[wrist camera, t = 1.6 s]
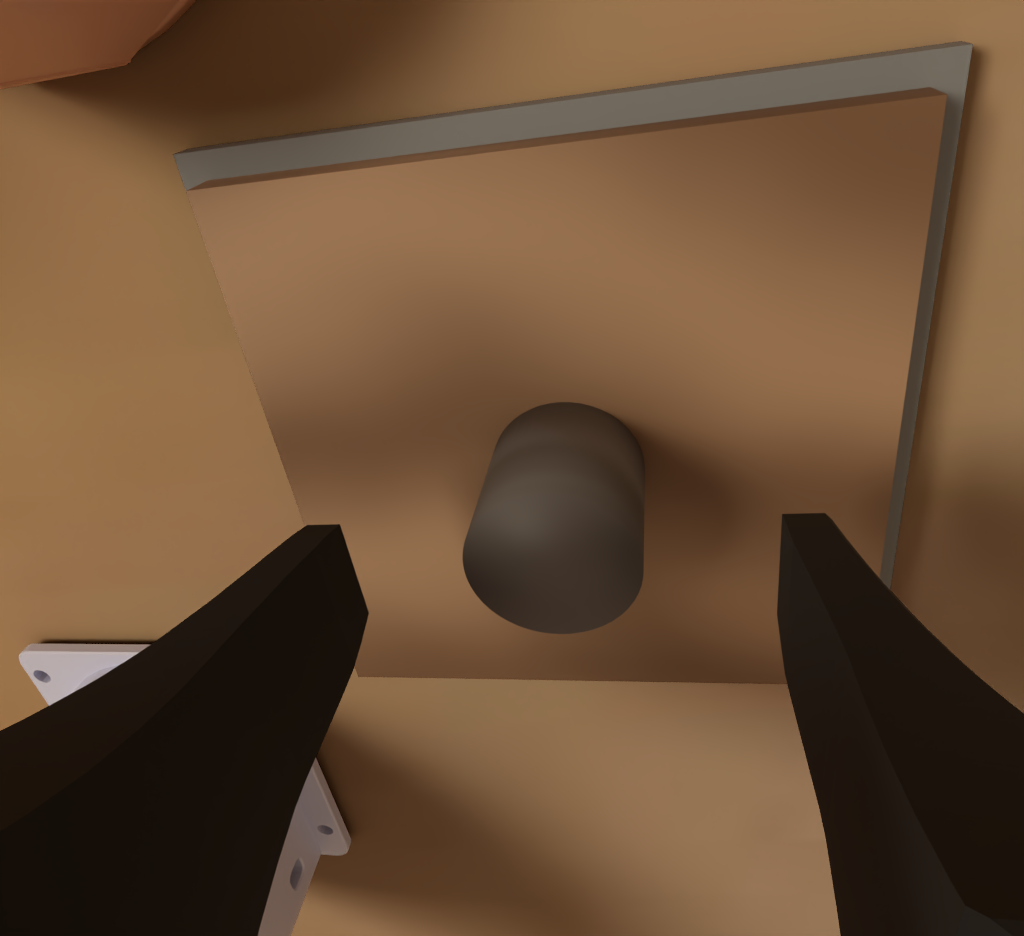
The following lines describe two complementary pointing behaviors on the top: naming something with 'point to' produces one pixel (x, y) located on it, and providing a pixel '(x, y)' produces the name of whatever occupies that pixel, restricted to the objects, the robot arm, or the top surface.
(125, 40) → the terracotta bowl
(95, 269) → the top surface
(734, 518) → the walnut cover
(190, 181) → the slate mat
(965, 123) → the top surface
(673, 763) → the top surface
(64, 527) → the top surface
